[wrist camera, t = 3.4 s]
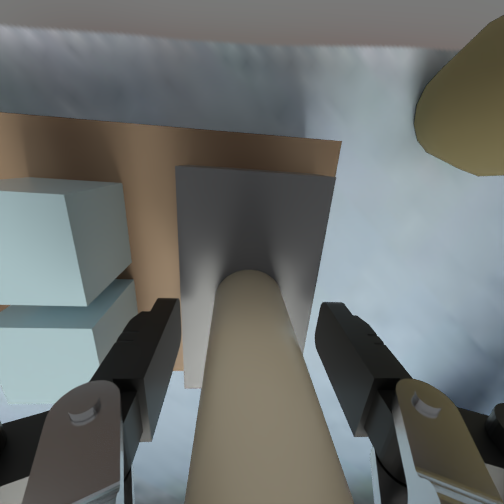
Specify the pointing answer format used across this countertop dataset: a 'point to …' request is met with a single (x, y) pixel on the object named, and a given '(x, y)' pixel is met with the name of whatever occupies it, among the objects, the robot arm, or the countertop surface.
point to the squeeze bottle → (467, 106)
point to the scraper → (253, 335)
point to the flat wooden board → (147, 177)
